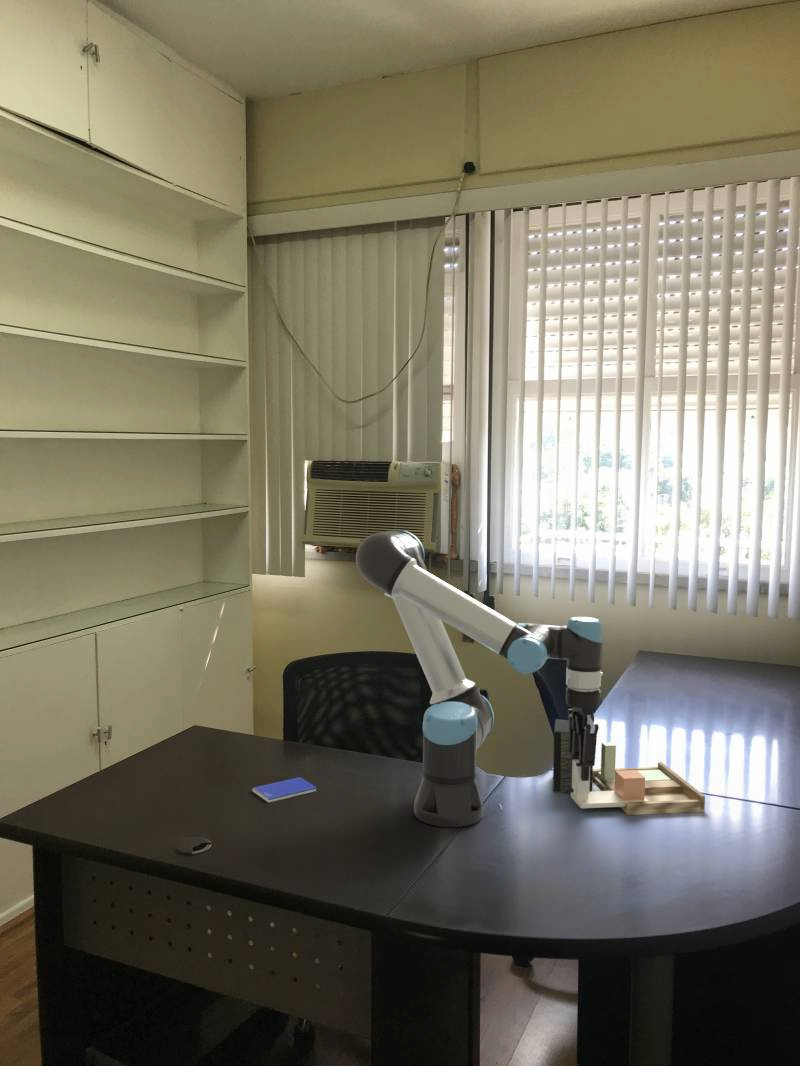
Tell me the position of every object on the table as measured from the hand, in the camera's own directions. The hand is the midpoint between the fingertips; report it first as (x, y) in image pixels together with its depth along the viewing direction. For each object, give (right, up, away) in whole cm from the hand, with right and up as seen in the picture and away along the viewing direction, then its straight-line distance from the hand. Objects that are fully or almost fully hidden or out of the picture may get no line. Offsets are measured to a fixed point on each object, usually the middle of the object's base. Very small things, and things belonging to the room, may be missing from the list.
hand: (580, 790), depth 191 cm
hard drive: (-67, -3, +8) cm, 68 cm away
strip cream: (+7, -3, +1) cm, 7 cm away
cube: (+11, -2, +2) cm, 12 cm away
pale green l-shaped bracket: (+16, -2, +14) cm, 22 cm away
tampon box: (+1, -3, +14) cm, 14 cm away
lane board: (+17, -4, +9) cm, 19 cm away
